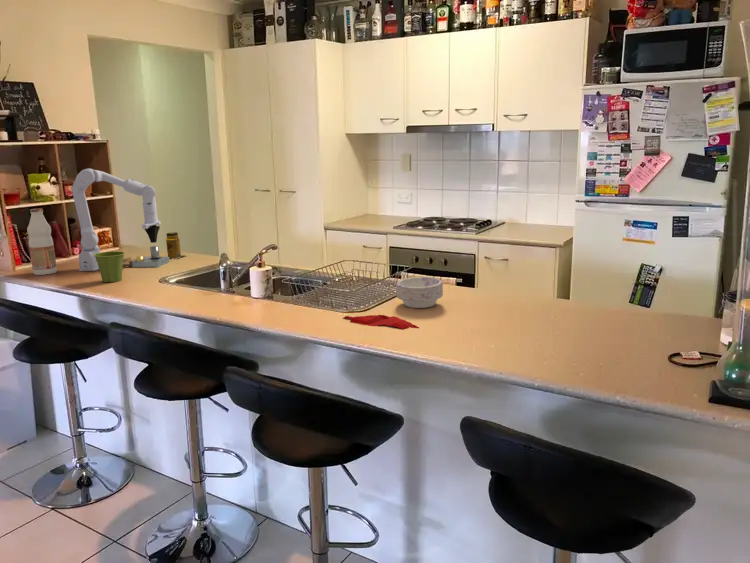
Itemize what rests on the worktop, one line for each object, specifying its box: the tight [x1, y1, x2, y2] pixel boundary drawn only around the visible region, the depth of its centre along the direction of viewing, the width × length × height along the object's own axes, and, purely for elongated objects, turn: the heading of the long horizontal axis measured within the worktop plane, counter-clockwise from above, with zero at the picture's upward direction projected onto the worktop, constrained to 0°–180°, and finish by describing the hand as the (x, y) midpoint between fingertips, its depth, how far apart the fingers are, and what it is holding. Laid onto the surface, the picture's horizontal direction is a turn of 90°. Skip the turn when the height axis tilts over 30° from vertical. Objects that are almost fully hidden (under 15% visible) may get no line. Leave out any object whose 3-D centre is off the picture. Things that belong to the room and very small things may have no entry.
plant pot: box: [94, 250, 126, 283], centre depth 255 cm, size 12×12×11 cm
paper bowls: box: [395, 276, 444, 309], centre depth 207 cm, size 15×15×8 cm
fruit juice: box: [26, 208, 58, 276], centre depth 271 cm, size 9×9×28 cm
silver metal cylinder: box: [149, 245, 160, 260], centre depth 288 cm, size 4×4×8 cm
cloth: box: [342, 314, 420, 330], centre depth 189 cm, size 26×14×2 cm, turn 50°
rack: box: [122, 256, 137, 268], centre depth 289 cm, size 12×7×2 cm, turn 174°
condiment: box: [165, 231, 187, 260], centre depth 303 cm, size 7×8×12 cm
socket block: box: [132, 256, 170, 268], centre depth 287 cm, size 12×12×2 cm
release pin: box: [135, 255, 144, 261], centre depth 284 cm, size 3×3×4 cm
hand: (153, 242), depth 287 cm, fingers closed
